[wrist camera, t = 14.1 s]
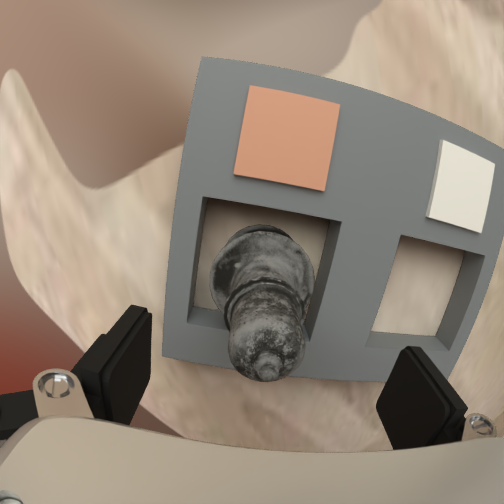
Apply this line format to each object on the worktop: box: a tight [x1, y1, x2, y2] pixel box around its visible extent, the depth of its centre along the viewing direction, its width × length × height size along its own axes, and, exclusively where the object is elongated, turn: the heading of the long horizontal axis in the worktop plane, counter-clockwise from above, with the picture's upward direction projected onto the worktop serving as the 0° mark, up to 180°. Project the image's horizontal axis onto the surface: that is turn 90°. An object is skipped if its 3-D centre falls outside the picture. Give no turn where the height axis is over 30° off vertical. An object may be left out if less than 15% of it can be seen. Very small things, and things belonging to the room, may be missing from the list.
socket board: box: [162, 57, 504, 382], centre depth 19 cm, size 19×23×3 cm
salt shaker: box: [210, 225, 315, 382], centre depth 15 cm, size 6×6×12 cm
